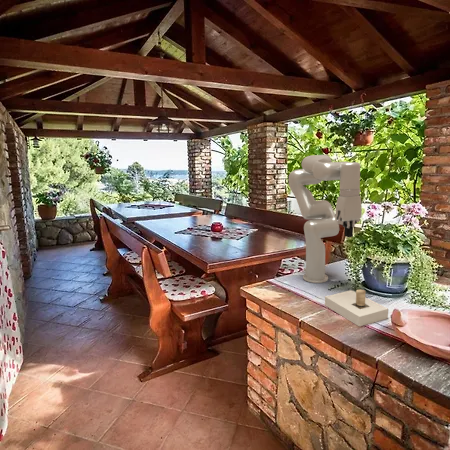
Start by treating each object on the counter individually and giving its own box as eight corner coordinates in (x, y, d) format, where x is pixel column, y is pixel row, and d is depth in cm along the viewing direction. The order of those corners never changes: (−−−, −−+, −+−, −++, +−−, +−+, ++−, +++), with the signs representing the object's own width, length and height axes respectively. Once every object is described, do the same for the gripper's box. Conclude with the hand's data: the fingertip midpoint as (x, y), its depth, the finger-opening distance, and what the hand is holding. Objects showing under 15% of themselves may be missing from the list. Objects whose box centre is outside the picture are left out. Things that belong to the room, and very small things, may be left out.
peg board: (324, 305, 138) (324, 296, 137) (350, 298, 143) (351, 290, 142) (359, 326, 120) (359, 316, 119) (387, 318, 125) (388, 308, 124)
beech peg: (353, 313, 130) (354, 290, 128) (360, 311, 131) (361, 288, 129) (359, 317, 126) (360, 293, 124) (366, 315, 128) (367, 291, 126)
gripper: (357, 190, 137) (356, 232, 141) (328, 194, 132) (328, 237, 136) (370, 192, 130) (369, 236, 134) (341, 195, 125) (340, 241, 129)
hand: (348, 236), depth 135 cm, fingers closed
